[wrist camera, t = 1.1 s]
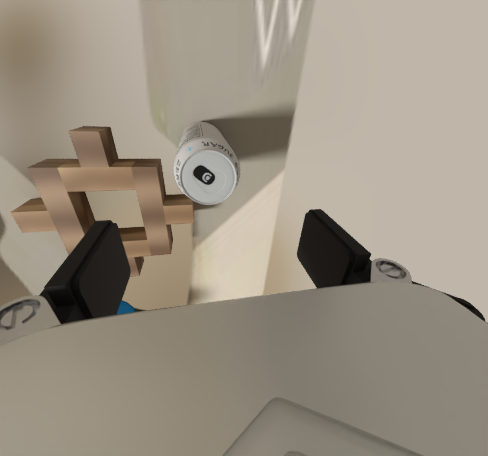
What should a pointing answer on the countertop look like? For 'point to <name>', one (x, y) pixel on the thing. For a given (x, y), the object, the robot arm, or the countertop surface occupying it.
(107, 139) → the cross socket stand
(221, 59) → the countertop surface
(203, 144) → the energy drink can
